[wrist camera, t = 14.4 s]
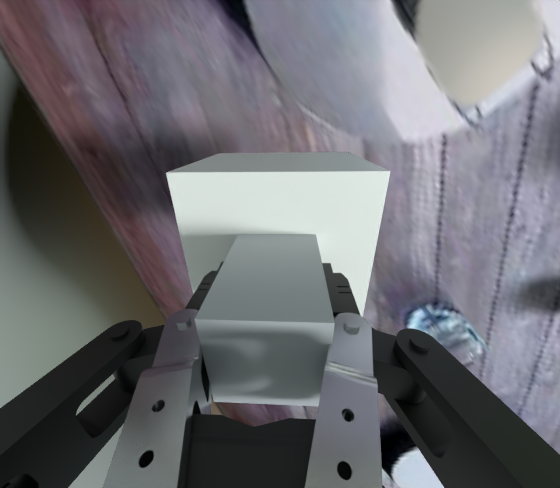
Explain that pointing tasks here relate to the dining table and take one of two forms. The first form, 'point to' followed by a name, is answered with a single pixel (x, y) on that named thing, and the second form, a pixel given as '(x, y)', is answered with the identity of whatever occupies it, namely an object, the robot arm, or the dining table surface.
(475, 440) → the robot arm
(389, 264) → the dining table surface
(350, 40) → the dining table surface
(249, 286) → the white grey stepped block
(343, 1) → the dining table surface
